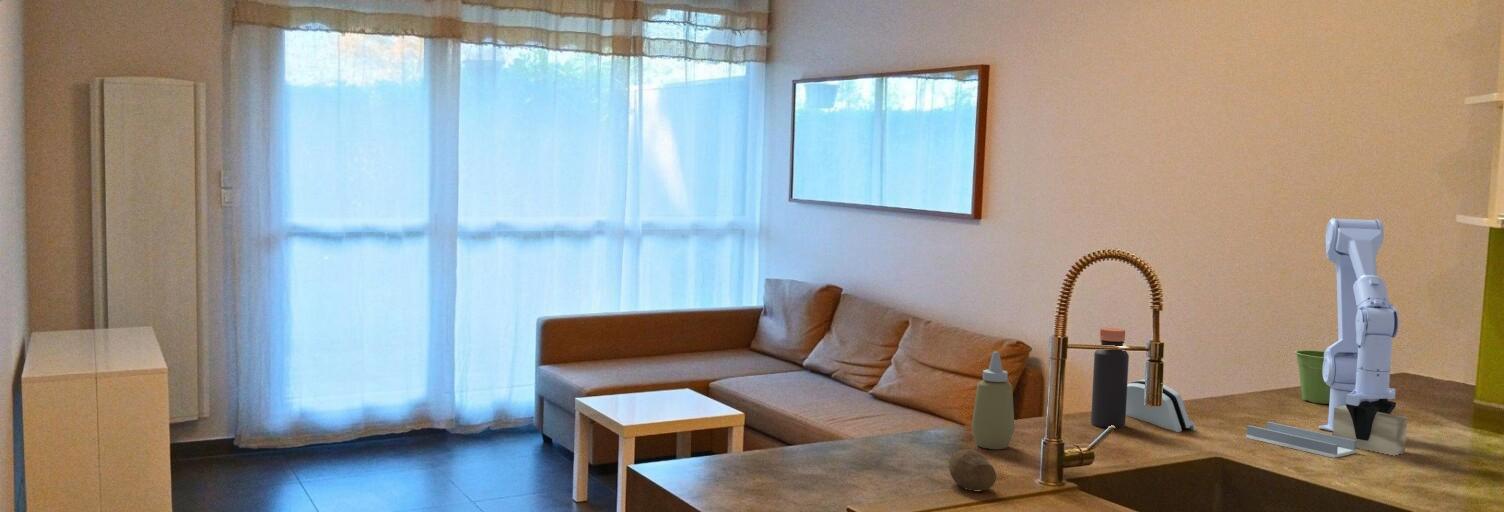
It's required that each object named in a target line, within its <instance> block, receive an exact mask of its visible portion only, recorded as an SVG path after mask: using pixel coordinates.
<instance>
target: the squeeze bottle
mask: <svg viewBox="0 0 1504 512" xmlns="http://www.w3.org/2000/svg"><path fill="white" fill-rule="evenodd" d="M1008 375H1009V373H1008V371H1007V370H1003V364H1002V360H1001V355H1000V351H993V352H992V355H991V359H990V361H989V366H988V369H983V370H982V380H980V381H979V382H977V386H976V391H975V392H976V393H975V398H974V399H975V400H974V407H973V414H972V421H971V430H972V433H973V437H974V440H975V444H976V446H978V447H980V448H983V449H987V448H988V450H1005V449H1007V448H1008V447H1009V445H1010V442H1011V440H1012V437H1013V434H1014V431H1015V411H1014V396H1013V395H1014V394H1013V392H1014V391H1013V385H1012V384H1011V382H1008V380H1009V379H1008V377H1009V376H1008Z"/></svg>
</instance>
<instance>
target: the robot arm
mask: <svg viewBox="0 0 1504 512" xmlns="http://www.w3.org/2000/svg"><path fill="white" fill-rule="evenodd" d="M1325 230H1326V231H1325V253H1326V259H1327V260H1328V261H1330V262H1332V263H1334V267H1335V273H1336V293H1337V295H1336V299H1337V301H1336V303H1337V304H1336V305H1337V330H1338V331H1337V333H1338V336H1337V337H1338V340H1337V341H1336V342H1333V344H1331V345H1329V346H1327V348H1326V349H1325V350H1324V351H1325V352H1324V362H1323V379H1324V382H1325V383H1326V384H1327V385H1329V386H1330V387H1331V388H1330V402H1329V404H1328V405H1329V406H1328V418H1327V419H1328V420H1327V424H1323V425H1319V426H1318V429H1320V430H1325V431H1330V432H1333V422H1334V408H1336V407H1341V406H1346V407H1347V409H1348V411H1349V413H1350V415H1351V418H1352V421H1353V425H1354V430H1355V435H1356V439H1360V440H1365V441H1368V440H1369V437H1370V434H1371V428H1372V423H1373V420H1374V417H1375V415H1376V413H1377V412H1381V413H1386V414H1392V412H1393V411H1394V409H1395V408H1396V406H1397V405H1396V402H1395V401H1391V400H1394V399H1396V390H1397V389H1396V388H1391V387H1390V378H1391V376H1390V375H1391V362H1392V353H1393V352H1392V350H1393V339H1394V338H1395V337H1397V335H1398V330H1399V314H1398V310H1397V309H1396V308H1395V307H1394V304H1393V303H1390V300H1389V299H1390V298H1389V294H1388V290H1387V287H1386V286H1387V285H1386V281H1385V280H1384V279H1383V278H1382V277H1379V276H1378V270H1377V269H1378V267H1377V257H1376V256H1377V255H1378V253H1379V251H1380V249H1381V247H1382V244H1383V241H1384V233H1385V232H1384V230H1385V229H1384V225H1383V223H1382V222H1381V220H1380V219H1376V218H1375V219H1354V218H1353V219H1349V218H1348V219H1347V218H1336V217H1332V218H1331V219H1330V220H1329V221H1328V222H1327V224H1326V229H1325ZM1348 356H1350V357H1348Z"/></svg>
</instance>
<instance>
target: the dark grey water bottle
mask: <svg viewBox="0 0 1504 512" xmlns="http://www.w3.org/2000/svg"><path fill="white" fill-rule="evenodd" d="M1099 331H1100V333H1099V342H1100V344H1101V345H1115V346H1123V347H1124V344H1125V341H1126V330H1125V329H1124V328H1118V327H1101V328H1100V330H1099ZM1101 345H1100V346H1101ZM1129 355H1130V354H1129V353H1128V351H1126V350H1125V351H1122V350H1097V349H1096V350H1095V351H1094V358H1093V373H1092V374H1093V375H1092V376H1093V377H1092V391H1091V392H1092V393H1091V394H1092V396H1091V417H1090V422H1091V424H1092V425H1093V426H1095V427H1099V428H1104V429H1108V428H1107V427H1108V426H1111V425H1114V426H1115V427H1116V428H1115V429H1123V428H1124V427H1125V426H1126V420H1127V419H1126V417H1127V415H1126V400H1127V384H1128V380H1129V379H1128V377H1129V360H1130V359H1129V357H1130V356H1129Z"/></svg>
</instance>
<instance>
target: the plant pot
mask: <svg viewBox="0 0 1504 512" xmlns="http://www.w3.org/2000/svg"><path fill="white" fill-rule="evenodd" d="M1325 351H1326V350H1316V349H1315V350H1312V349H1311V350H1310V349H1301V350H1294V354H1295V355H1296V359H1297V365H1298V370H1299V371H1298V372H1299V382H1300V390H1301V399H1302V400H1303V401H1305V402H1306V401H1308V402H1310V403H1313V404H1321V405H1329V402H1330V388H1331V387H1330V386H1329V385H1327V384H1326V383H1325V382H1324V379H1323V362H1324V352H1325ZM1348 357H1350V356H1348Z"/></svg>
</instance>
